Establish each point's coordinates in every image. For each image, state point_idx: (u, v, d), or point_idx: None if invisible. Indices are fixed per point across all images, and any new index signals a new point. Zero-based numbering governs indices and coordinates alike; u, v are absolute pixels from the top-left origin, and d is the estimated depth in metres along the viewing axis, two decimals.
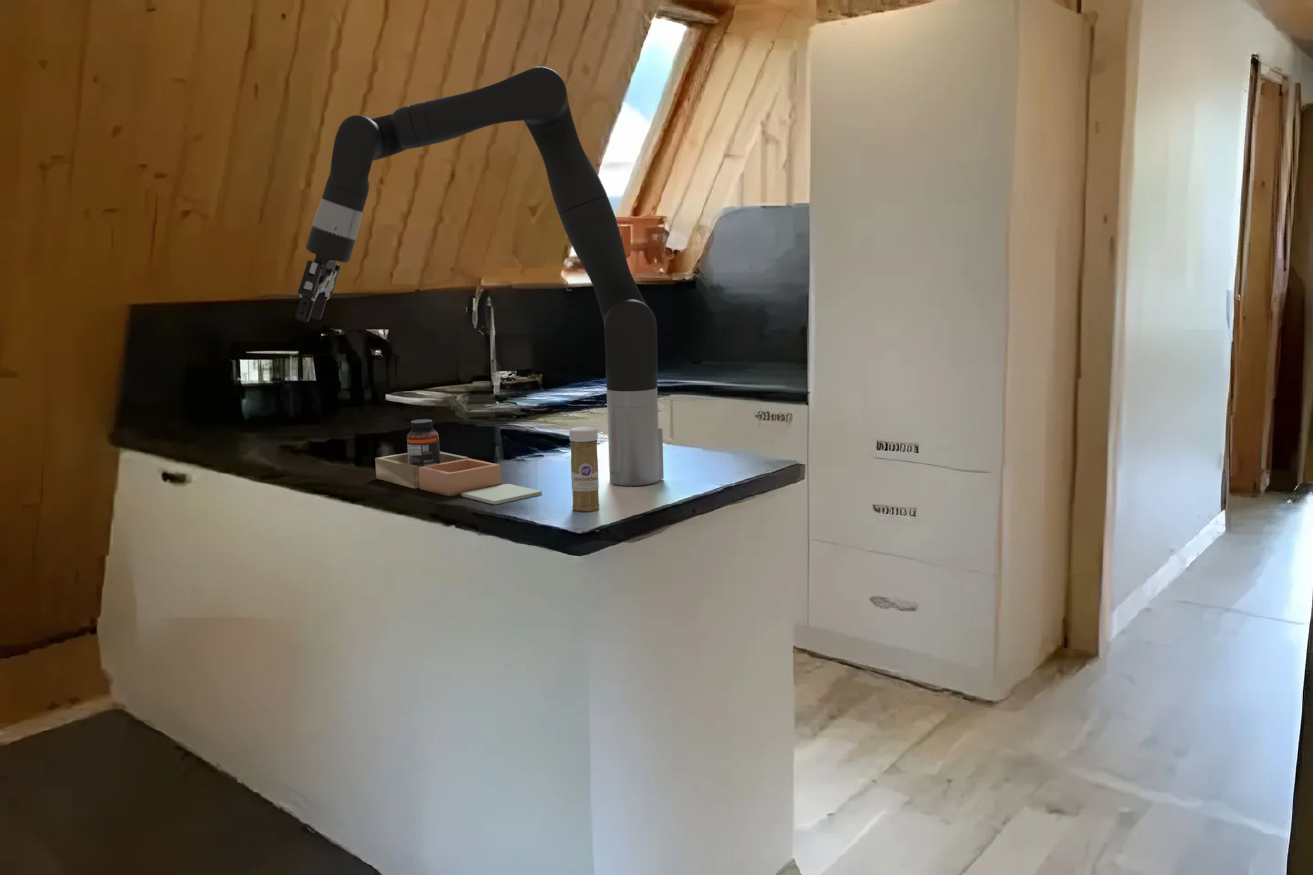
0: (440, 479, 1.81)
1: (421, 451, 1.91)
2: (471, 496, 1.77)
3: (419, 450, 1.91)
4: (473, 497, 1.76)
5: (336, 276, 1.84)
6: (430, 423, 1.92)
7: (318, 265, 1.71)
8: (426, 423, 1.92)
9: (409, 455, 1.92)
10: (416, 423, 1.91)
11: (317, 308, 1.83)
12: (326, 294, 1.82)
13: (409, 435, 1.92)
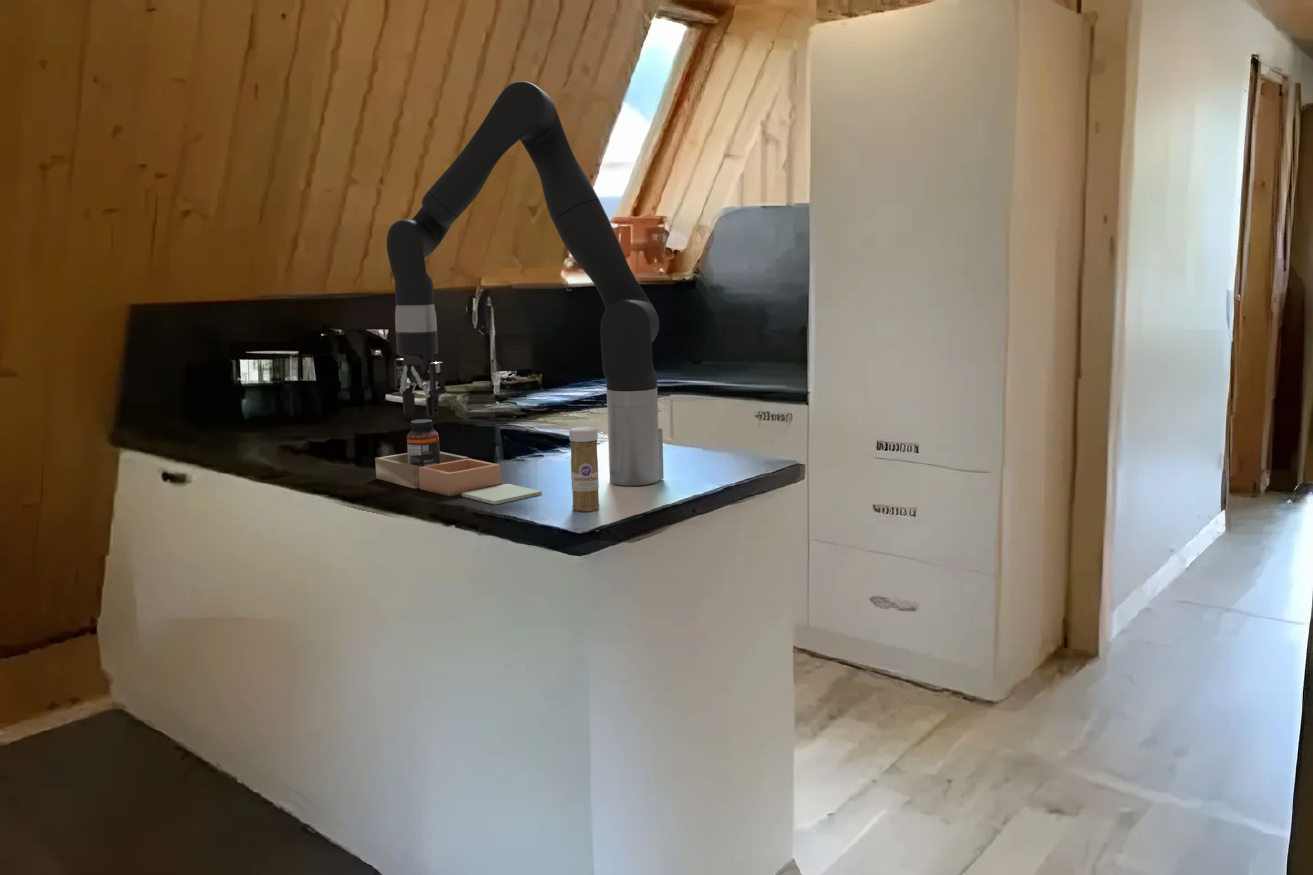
0: (440, 479, 1.81)
1: (421, 451, 1.91)
2: (471, 496, 1.77)
3: (419, 450, 1.91)
4: (473, 497, 1.76)
5: None
6: (430, 423, 1.92)
7: (440, 363, 1.87)
8: (426, 423, 1.92)
9: (409, 455, 1.92)
10: (416, 423, 1.91)
11: (410, 403, 1.96)
12: (414, 387, 1.96)
13: (409, 435, 1.92)
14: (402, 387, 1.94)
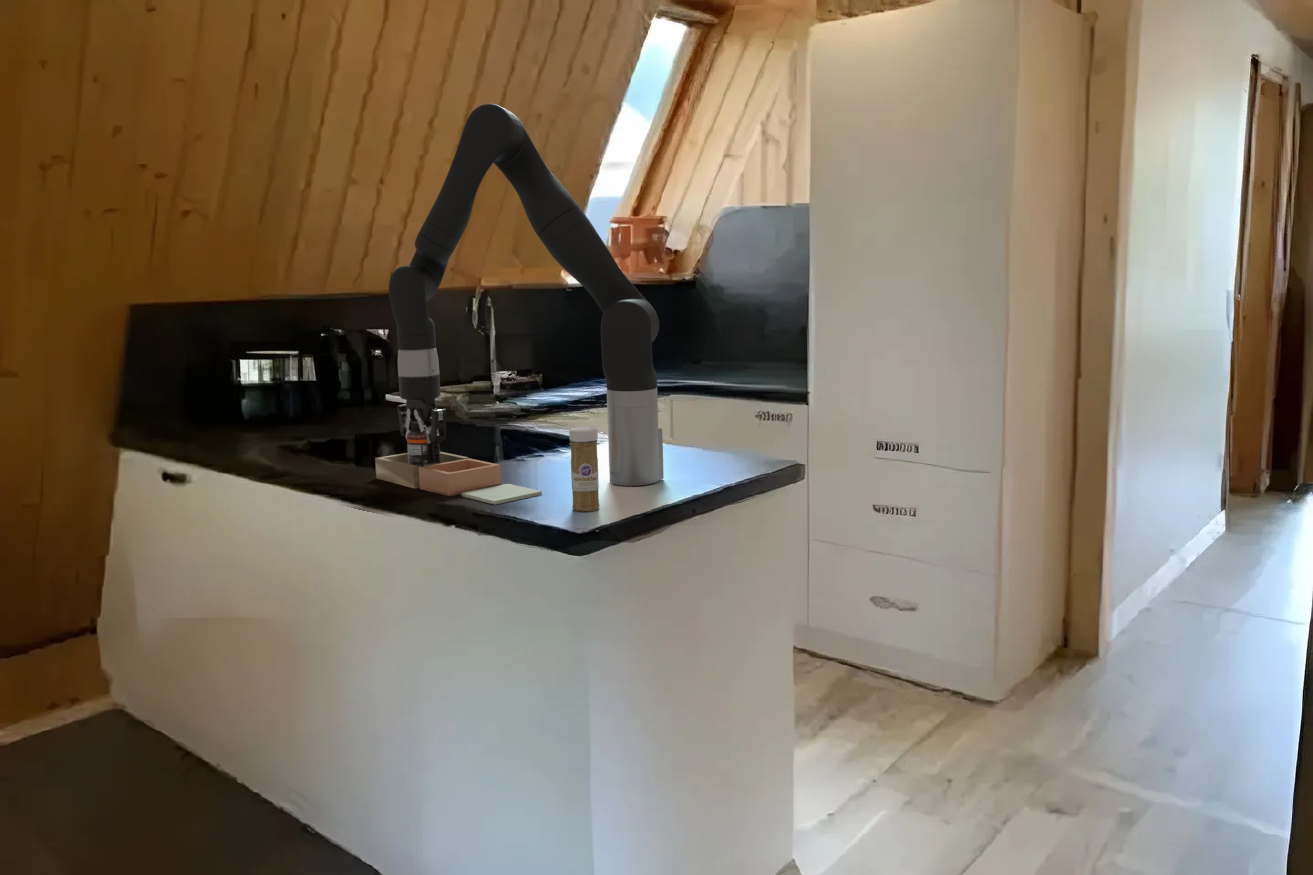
0: (440, 479, 1.81)
1: (421, 451, 1.91)
2: (471, 496, 1.77)
3: (419, 450, 1.91)
4: (473, 497, 1.76)
5: None
6: None
7: (443, 411, 1.88)
8: None
9: (409, 455, 1.92)
10: (416, 423, 1.91)
11: None
12: None
13: (409, 435, 1.92)
14: (407, 432, 1.95)
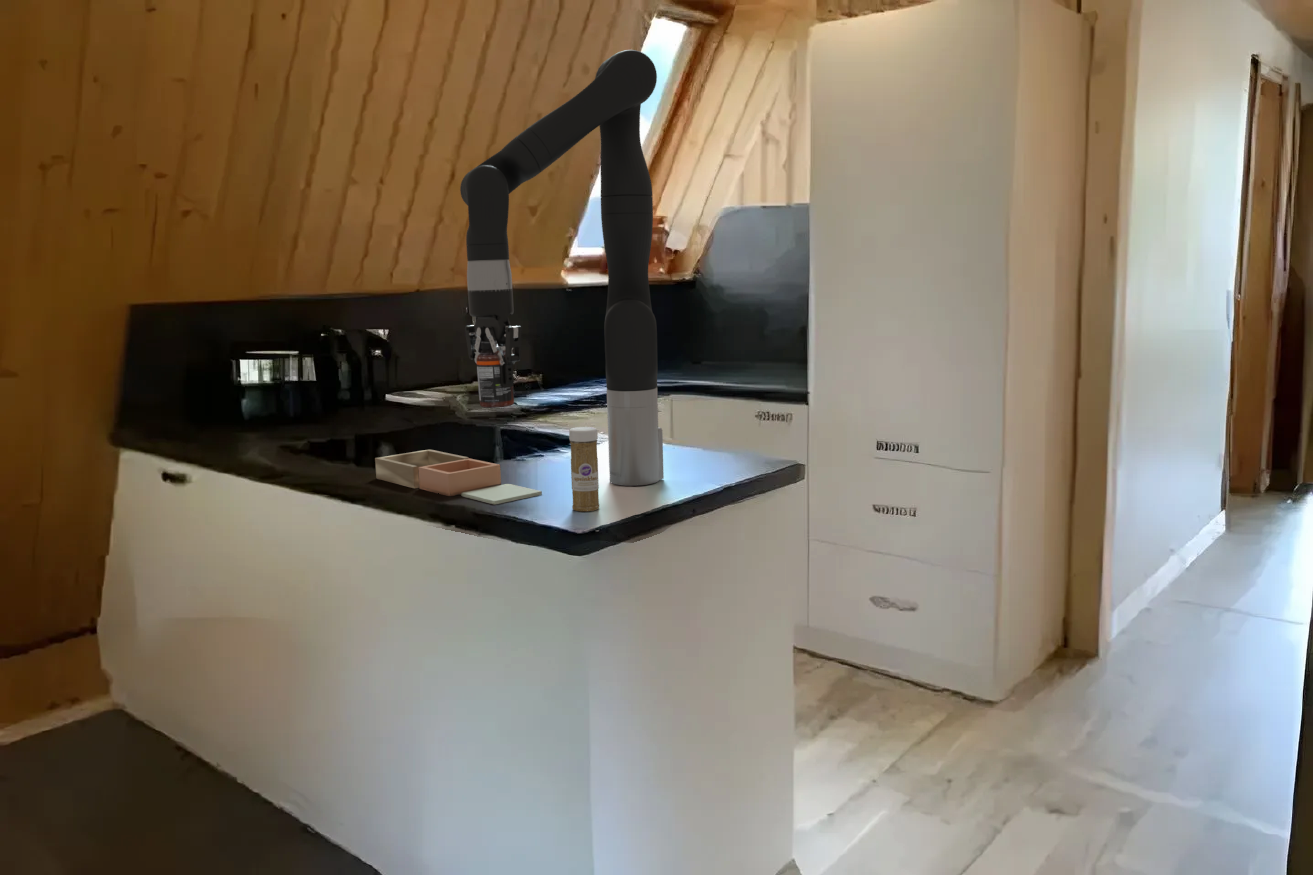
0: (440, 479, 1.81)
1: (493, 374, 1.73)
2: (471, 496, 1.77)
3: (490, 373, 1.73)
4: (473, 497, 1.76)
5: None
6: None
7: (518, 328, 1.70)
8: None
9: (480, 378, 1.74)
10: (487, 343, 1.73)
11: None
12: None
13: (479, 356, 1.73)
14: (477, 355, 1.77)
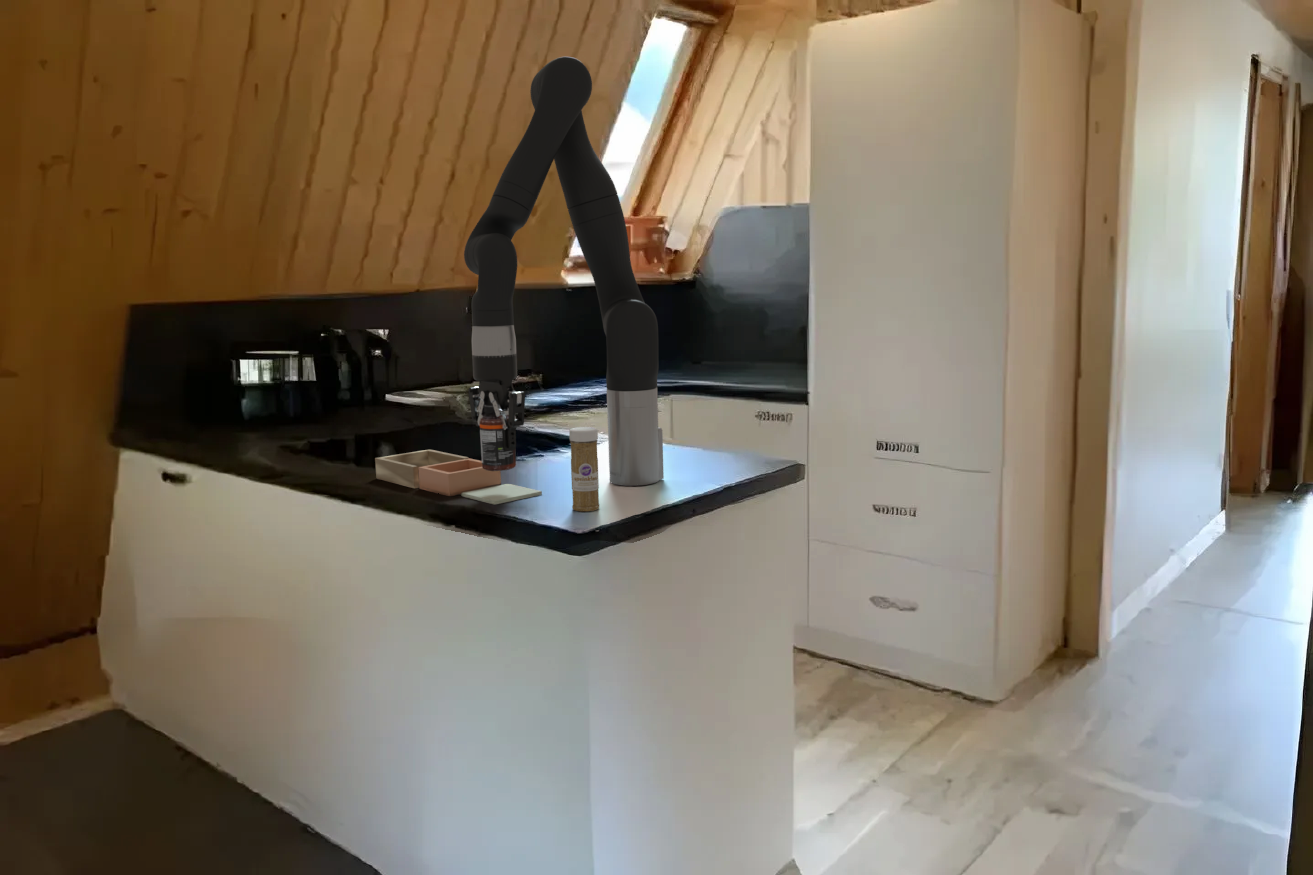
0: (440, 479, 1.81)
1: (496, 438, 1.74)
2: (471, 496, 1.77)
3: (493, 436, 1.74)
4: (473, 497, 1.76)
5: None
6: None
7: (522, 394, 1.72)
8: None
9: (482, 442, 1.76)
10: (490, 407, 1.75)
11: None
12: None
13: (482, 420, 1.75)
14: (480, 418, 1.78)
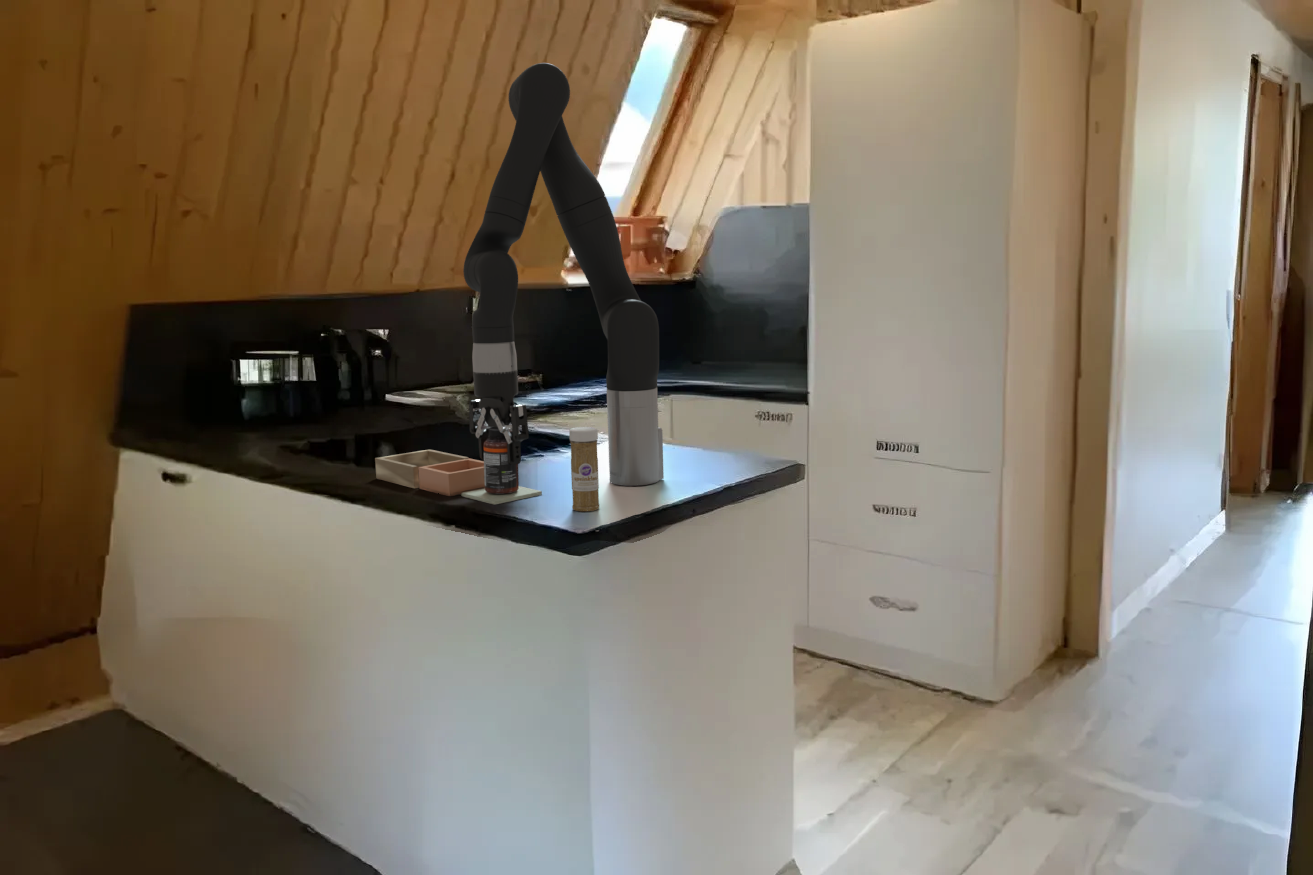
0: (440, 479, 1.81)
1: (499, 461, 1.75)
2: (471, 496, 1.77)
3: (497, 460, 1.75)
4: (473, 497, 1.76)
5: None
6: None
7: (523, 406, 1.72)
8: None
9: (486, 464, 1.76)
10: (495, 430, 1.75)
11: None
12: None
13: (487, 443, 1.76)
14: (479, 431, 1.79)
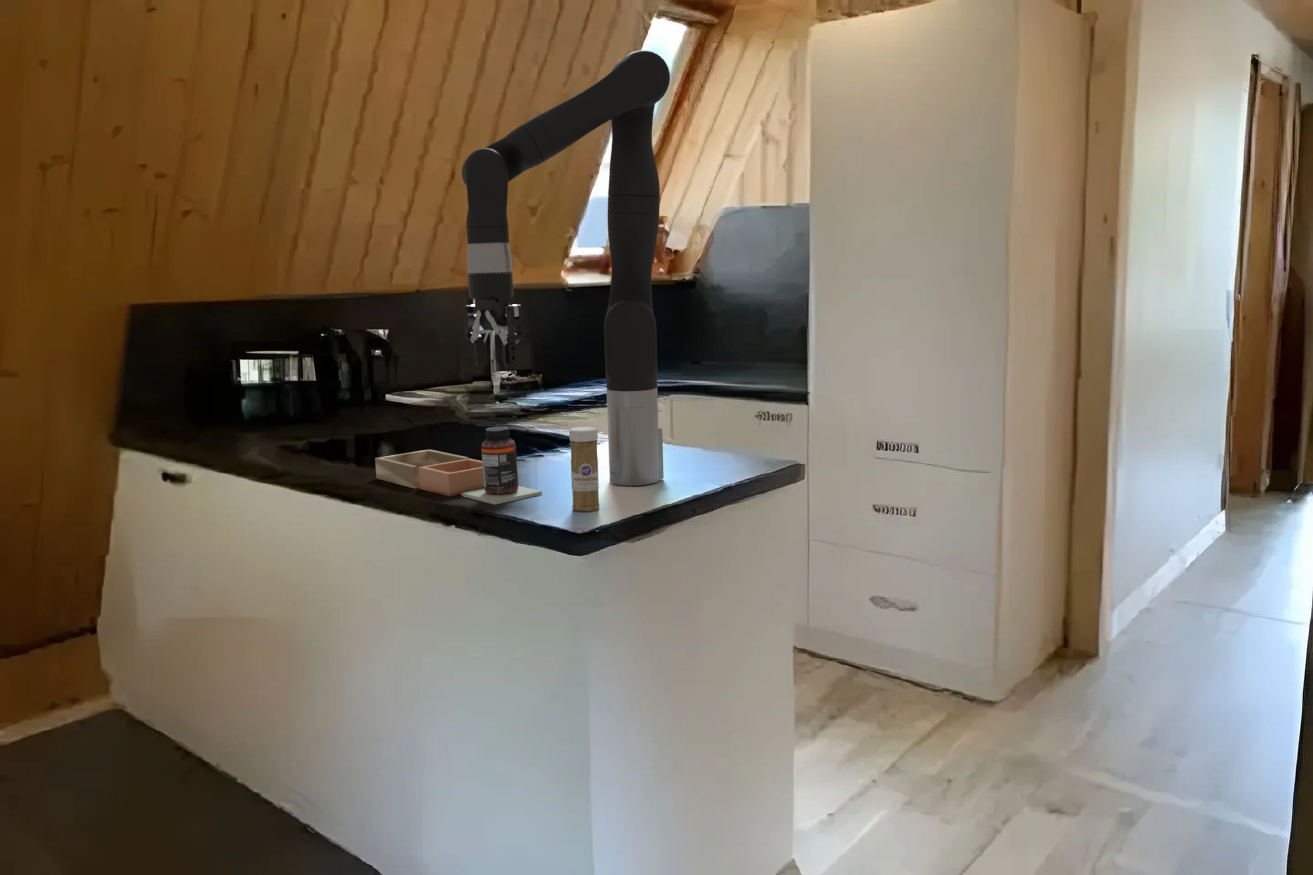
0: (440, 479, 1.81)
1: (498, 462, 1.75)
2: (471, 496, 1.77)
3: (495, 461, 1.75)
4: (473, 497, 1.76)
5: None
6: (507, 431, 1.76)
7: (518, 306, 1.71)
8: (503, 431, 1.75)
9: (485, 466, 1.76)
10: (492, 431, 1.75)
11: (482, 353, 1.79)
12: (486, 336, 1.79)
13: (484, 444, 1.76)
14: (474, 335, 1.78)
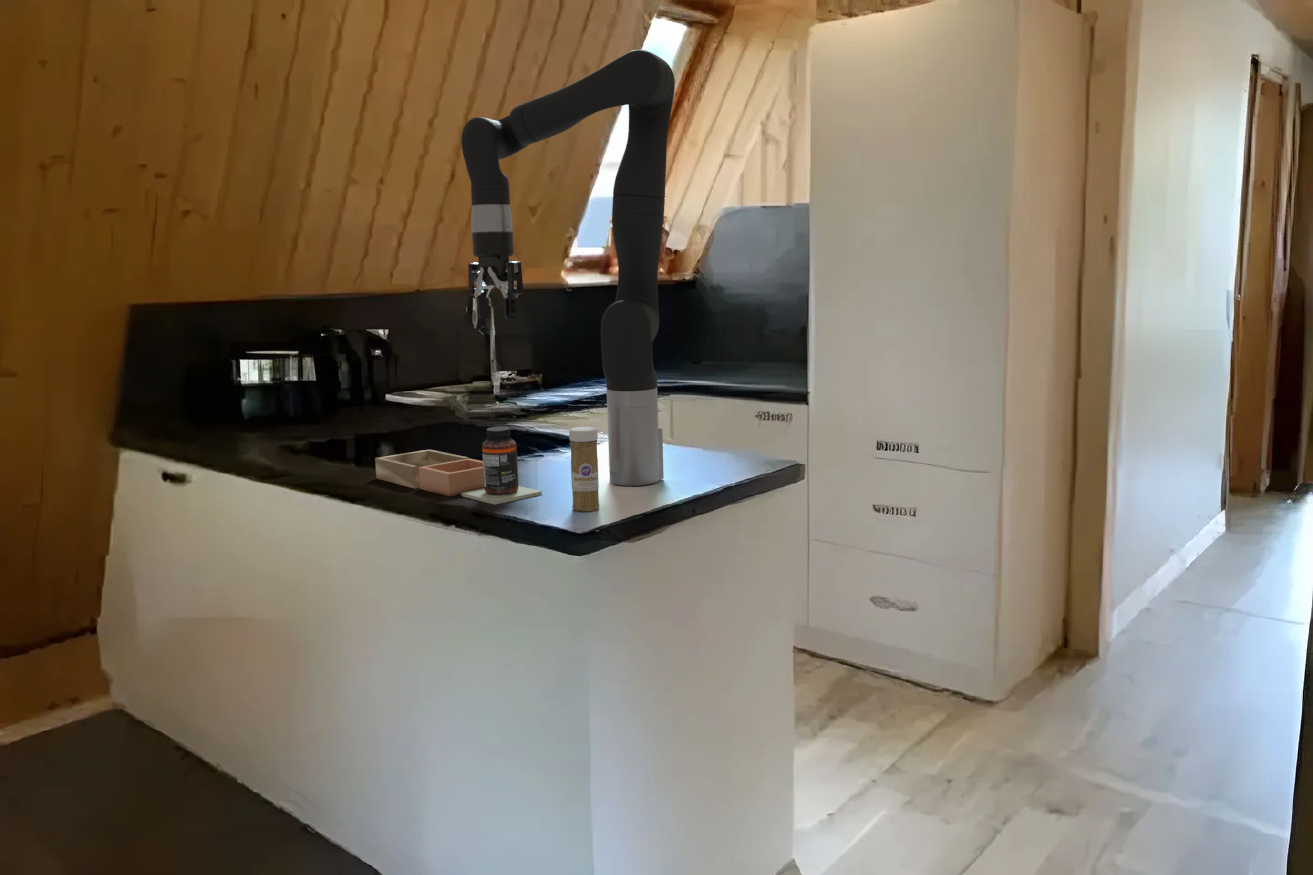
0: (440, 479, 1.81)
1: (499, 462, 1.75)
2: (471, 496, 1.77)
3: (496, 461, 1.75)
4: (473, 497, 1.76)
5: None
6: (508, 431, 1.76)
7: (518, 263, 1.86)
8: (504, 431, 1.75)
9: (485, 466, 1.76)
10: (493, 431, 1.75)
11: (485, 307, 1.94)
12: (488, 292, 1.94)
13: (485, 444, 1.75)
14: (477, 291, 1.93)
